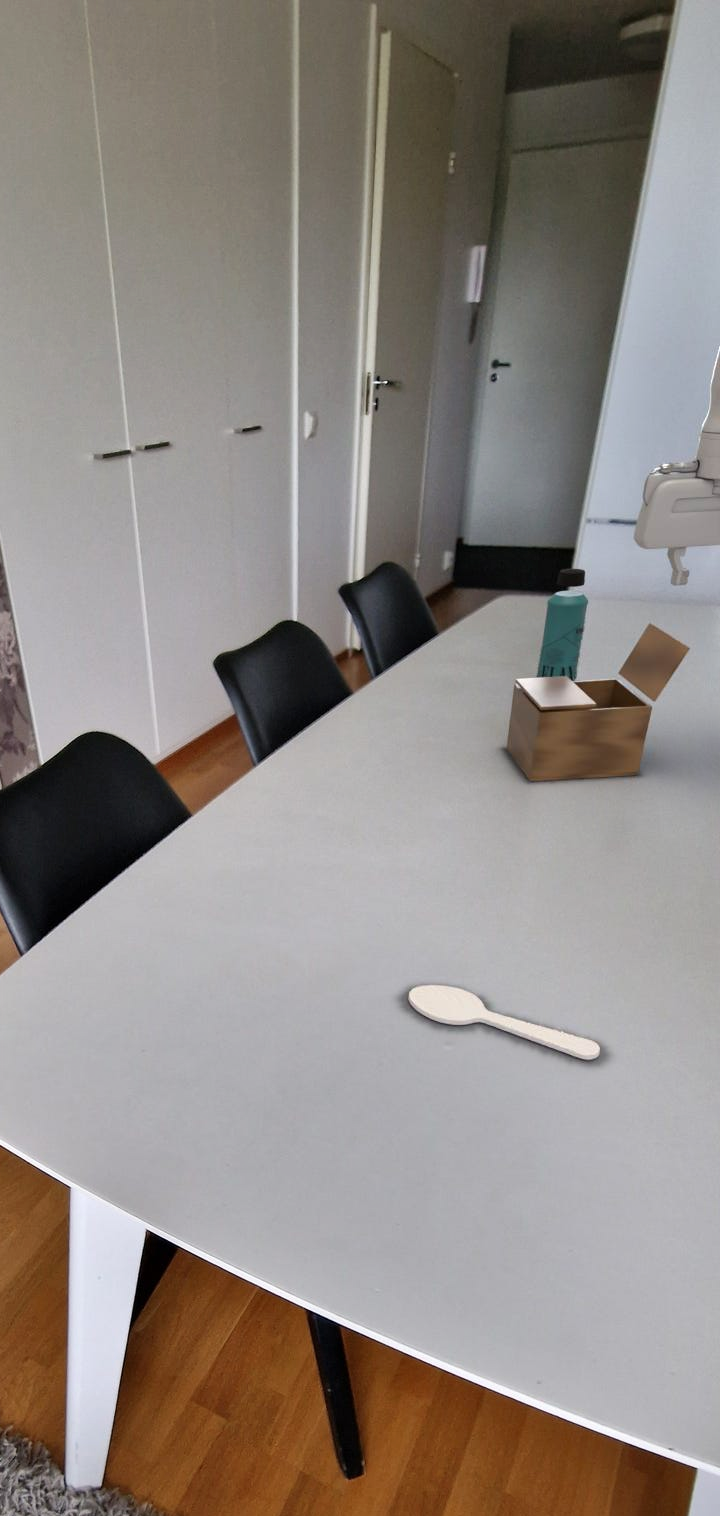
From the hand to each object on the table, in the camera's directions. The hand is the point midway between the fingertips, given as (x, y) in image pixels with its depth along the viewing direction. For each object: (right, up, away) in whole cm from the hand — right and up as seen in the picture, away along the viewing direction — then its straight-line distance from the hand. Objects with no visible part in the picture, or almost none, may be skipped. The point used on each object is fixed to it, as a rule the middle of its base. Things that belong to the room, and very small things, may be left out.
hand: (705, 582), depth 120 cm
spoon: (-37, -58, -36) cm, 77 cm away
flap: (-5, -8, +6) cm, 11 cm away
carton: (-13, -19, +14) cm, 27 cm away
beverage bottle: (-7, -2, +37) cm, 38 cm away
